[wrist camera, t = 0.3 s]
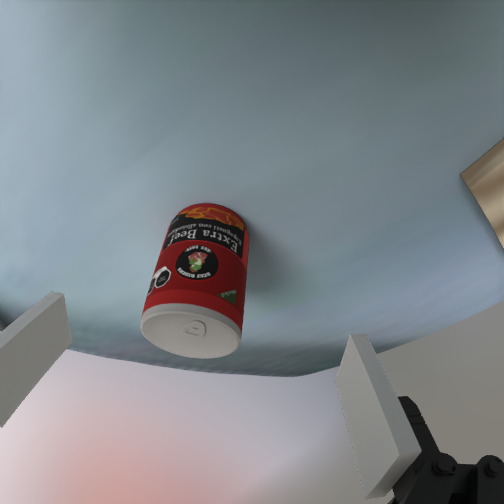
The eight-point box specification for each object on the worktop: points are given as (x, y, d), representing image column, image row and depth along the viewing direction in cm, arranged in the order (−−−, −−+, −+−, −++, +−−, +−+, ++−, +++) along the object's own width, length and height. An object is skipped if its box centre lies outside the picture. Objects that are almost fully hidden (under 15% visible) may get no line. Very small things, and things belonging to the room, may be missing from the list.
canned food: (255, 206, 27) (247, 320, 19) (244, 264, 33) (235, 364, 25) (167, 195, 26) (129, 303, 19) (172, 254, 32) (147, 351, 25)
